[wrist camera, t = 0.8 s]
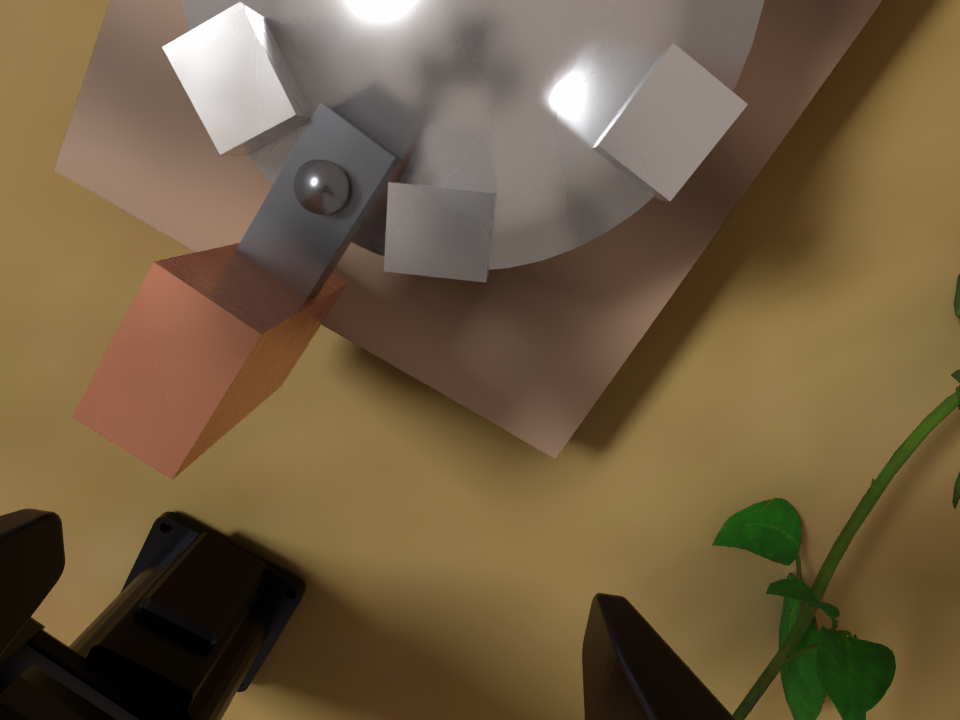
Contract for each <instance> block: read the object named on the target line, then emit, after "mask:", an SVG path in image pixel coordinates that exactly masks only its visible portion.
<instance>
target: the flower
mask: <svg viewBox="0 0 960 720" xmlns="http://www.w3.org/2000/svg"><path fill="white" fill-rule="evenodd" d="M954 308H955V314H956V315H957V316H958V317H959V318H960V274H959V276H958V281H957V287H956V294H955V300H954ZM951 376H953V377H954V378H955V379H956V380H957V381H958V382H959V383H960V370H957V371H955V372H954V373H953V374H951ZM957 406H958V407H959V410H960V385H959V386H958V387H957V388H956V392H955V393H954V394H952V395H951V396H949V397H947V398H946V399H945V400H944V401H943V402H942V403H941V404H940V405H939V406H938V407H937V408H935V409H934V410H933V411H932V412H931V413H930V414H929V415H928V416H927V417H926V418H925V419H924V420H923V421H922V422H921V423H920V424H919V426H918V427H917V428H916V429H915V430H914V431H913V432H912V434H911V435H910V436H909V437H908V438H907V439H906V440H905V441H904V443H903V444H902V445H901V446H900V447H899V448H898V449H897V451H896V452H895V453H894V454H893V456H892V457H891V459H890V460H889V462H888V463H887V464H886V466H885V467H884V469H883V470H882V471H881V473H880V474H879V476H878V477H877V478H876V480H875V481H874V479H873V480H872V484H871V487H870V488H869V490H868V491H867V493H866V494H865V495H864V497H863V498H862V500H861V502H860V503H859V505H858V506H857V508H856V510H855V511H854V513H853V514H852V516H851V517H850V519H849V521H848V522H847V524H846V525H845V527H844V529H843V530H842V532H841V533H840V535H839V537H838V538H837V540H836V541H835V543H834V545H833V547H832V549H831V550H830V552H829V554H828V556H827V558H826V560H825V562H824V564H823V566H822V567H821V569H820V571H819V573H818V576H817V578H816V580H815V582H814V585H813V587H812V589H810V587H808V586H807V585H806V584H805V583H804V582H803V581H801V563H800V557H799V554H798V553H799V547H800V542H801V536H802V534H801V523H800V519H799V517H798V515H797V513H796V511H795V509H794V508H793V507H792V506H791V505H790V504H789V503H788V502H787V501H785V500H784V499H782V498H774V499H771V500H767V501H763V502H760V503H756V504H753V505H751V506H749V507H748V508H746V509H744V510H742V511H740V512H738V513H736V514H734V515H733V516H731V517H730V518H729V519H728V520H727V521H726V522H725V524H724V525H723V527H722V529H721V530H720V532H719V533H718V535H717V537H716V539H715V541H714V543H713V544H712V545H717V546H727V547H737V548H740V549H745V550H748V551H750V552H753V553H755V554H757V555H759V556H762V557H764V558H767V559H769V560H771V561H774V562H777V563H781V564H783V565H790V564H791V563H792V562H793V561H794V560H795V559H796V565H797V579H795V576H794V574H792V573H789V575H788V576H787V579H784V580H779V581H776V582H773V583H771V584H770V585H769V587H768V590H767V592H766V594H774V595H781V596H784V603H783V610H782V616H781V623H780V630H779V651H778V652H777V654H776V655H775V657H774V658H773V659H772V661H771V662H770V664H769V665H768V666H767V668H766V669H765V670H764V672H763V673H762V675H761V676H760V677H759V679H758V680H757V682H756V683H755V684H754V686H753V687H752V689H751V690H750V691H749V693H748V694H747V696H746V697H745V698H744V700H743V701H742V703H741V704H740V705H739V707H738V708H737V710H736V711H735V712H734V714H733V715H732V716H733V717H734V718H735V719H736V720H745V718H746V717H747V715H748V714H749V713H750V711H751V710H752V709H753V707H754V706H755V704H756V703H757V702H758V700H759V699H760V698H761V696H762V695H763V693H764V692H765V691H766V689H767V688H768V686H769V685H770V684H771V682H772V681H773V680H774V678H775V677H776V675H777V674H778V673H779V671H780V672H781V680H782V684H783V688H784V693H785V697H786V701H787V703H788V705H789V708H790V710H791V712H792V715H793V718H794V720H816V719H817V717H818V715H819V714H820V712H821V708H822V703H824V697H826V693H827V695H828V696H829V697H830V699H831V700H832V702H833V703H834V705H835V706H836V708H837V710H838V712H839V714H840V716H841V717H842V719H843V720H866V712H867V711H868V710H870V709H872V708H873V707H874V706H875V705H876V704H877V703H878V702H879V701H880V700H881V698H882V697H883V696H884V694H885V693H886V691H887V689H888V688H889V686H890V685H891V683H892V680H893V678H894V674H895V669H896V663H895V657H894V654H893V651H891V650H890V649H889V648H888V647H886V646H884V645H882V644H878V643H873V642H869V641H865V640H860V639H857V636H856V634H855V635H854V638H853V637H852V635H851V633H850V632H849V631H841V630H837V631H835V630H836V627H837V623H838V621H837V620H836V619H835V618H836V617H839V614H840V613H839V611H838V609H837V608H836V607H835V606H833V605H831V604H828V603H823V602H820V601H821V599H822V597H823V595H824V593H825V590H826V588H827V586H828V584H829V582H830V579H831V577H832V575H833V573H834V571H835V569H836V567H837V565H838V564H839V562H840V560H841V558H842V556H843V555H844V553H845V551H846V549H847V547H848V546H849V544H850V542H851V540H852V538H853V537H854V535H855V533H856V532H857V530H858V529H859V527H860V526H861V524H862V523H863V521H864V520H865V518H866V517H867V515H868V514H869V512H870V511H871V509H872V508H873V506H874V505H875V503H876V502H877V500H878V499H879V497H880V496H881V494H882V493H883V491H884V490H885V488H886V487H887V485H888V484H889V482H890V481H891V479H892V478H893V476H894V475H895V474H896V473H897V472H898V470H899V469H900V468H901V467H902V465H903V464H904V463H905V462H906V461H907V459H908V458H909V457H910V456H911V454H912V453H913V452H914V451H915V450H916V448H917V447H918V446H919V445H920V444H921V442H922V441H923V440H924V439H925V437H926V436H927V435H928V434H929V433H930V432H931V431H932V430H933V429H934V428H935V427H936V426H937V425H938V424H939V423H940V422H941V421H942V420H943V419H945V418H946V417H947V416H948V415H949V414H950V413H951V412H952V411H953V410H954V409H955V408H956V407H957ZM959 498H960V473H959V475H958V477H957V479H956V482H955V487H954V494H953V501H952V502H953V506H954V509H955V508H956V506H957V503H958V501H959ZM818 607H819V608H820V609H822V610H823V611H824V612H825V613H826V614H827V615H828V616H829V617H830V618H831V619H832V620H833V623H832V628H831V629H830V630H829V629H827V628H826V627H824V626H822V628H821V632H820V631H819V628H818V625H817V622H816V618H815V612H816V610H817V608H818ZM846 635H848V636H849V637H846Z"/></svg>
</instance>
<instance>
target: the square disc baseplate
mask: <svg viewBox="0 0 960 720" xmlns="http://www.w3.org/2000/svg"><path fill="white" fill-rule="evenodd" d="M881 2H882V0H764V4H763V7H762V11H761V15H760V18H759V22H758V26H757V29H756V33H755V37H754V40H753V44H752V47H751V49H750V52H749V54H748V57H747V59H746V62H745V64H744V67H743V69H742V72H741V74H740V77H739V79H738V82H737V84H736V86H735V88H734V90H733V92H734V93H735V94H736V95H737V96H738V97H740V98H741V99H742V100H743V101H745V102H746V103H747V104H748V105H747V106H746V107H745V109H744V110H743V111H742V112H741V114H740V115H739V116H738V117H737V119H736V120H735V121H734V122H733V124H732V125H731V126H730V127H729V129H728V130H727V131H726V133H725V134H724V135H723V136H722V138H721V139H720V140H719V141H718V143H717V144H716V145H715V146H714V148H713V149H712V150H711V151H710V153H709V154H708V155H707V156H706V158H705V159H704V160H703V161H702V163H701V164H700V165H699V166H698V168H697V169H696V170H695V171H694V173H693V174H692V175H691V176H690V178H689V179H688V180H687V181H686V183H685V184H684V185H683V186H682V188H681V189H680V190H679V191H678V193H677V194H676V195H675V196H674V198H673V199H672V200H671V201H670V202H669V201H662V200H657V199H656V198H655V197H653V198H652V199H651V200H650V201H648V202H647V203H646V204H645V205H644V206H643V207H642V208H641V209H639V210H638V211H637V212H636V213H634V214H633V215H631V216H630V217H628V218H627V219H625V220H624V221H622V222H621V223H620V224H618V225H617V226H615V227H614V228H612V229H611V230H609V231H608V232H606V233H604V234H602V235H600V236H599V237H597V238H595V239H593V240H591V241H589V242H587V243H585V244H583V245H581V246H579V247H577V248H575V249H573V250H570V251H567V252H564V253H562V254H559V255H556V256H553V257H551V258H548V259H545V260H542V261H538V262H534V263H529V264H525V265H520V266H516V267H511V268H504V269H492V270H489V275H488V278H487V281H486V283H485V282H476V281H467V280H458V279H449V278H439V277H430V276H421V275H412V274H403V273H394V272H385V271H384V257H385V256H382V255H379V254H376V253H373V252H371V251H369V250H367V249H365V248H363V247H360V246H358V245H356V244H354V243H352V242H351V243H350V245H349V246H348V248H347V249H346V251H345V253H344V254H343V256H342V257H341V259H340V261H339V262H338V264H337V265H336V267H335V268H334V270H333V273H334V274H336V275H337V276H338V277H340V278H341V279H343V280H344V281H345V282H347V283H348V284H347V285H346V287H345V288H344V290H343V292H342V293H341V295H340V296H339V298H338V299H337V301H336V302H335V304H334V305H333V307H332V309H331V310H330V312H329V313H328V315H327V316H326V318H325V319H324V321H323V322H322V325H323V326H325V327H327V328H329V329H330V330H332V331H334V332H336V333H337V334H339V335H341V336H343V337H344V338H346V339H348V340H349V341H351V342H353V343H355V344H356V345H358V346H360V347H362V348H363V349H365V350H367V351H369V352H370V353H372V354H374V355H376V356H377V357H379V358H381V359H382V360H384V361H386V362H388V363H389V364H391V365H393V366H395V367H396V368H398V369H400V370H402V371H403V372H405V373H407V374H408V375H410V376H412V377H414V378H415V379H417V380H419V381H421V382H422V383H424V384H426V385H428V386H429V387H431V388H433V389H435V390H436V391H438V392H440V393H441V394H443V395H445V396H447V397H448V398H450V399H452V400H454V401H455V402H457V403H459V404H461V405H462V406H464V407H466V408H467V409H469V410H471V411H473V412H474V413H476V414H478V415H480V416H481V417H483V418H485V419H487V420H488V421H490V422H492V423H494V424H495V425H497V426H499V427H500V428H502V429H504V430H506V431H507V432H509V433H511V434H513V435H514V436H516V437H518V438H520V439H521V440H523V441H525V442H526V443H528V444H530V445H532V446H533V447H535V448H537V449H539V450H540V451H542V452H544V453H546V454H547V455H549V456H551V457H552V458H554V459H556V457H557V456H558V455H559V453H560V452H561V450H562V449H563V448H564V446H565V445H566V443H567V442H568V441H569V439H570V438H571V436H572V435H573V434H574V432H575V431H576V429H577V428H578V427H579V425H580V424H581V422H582V421H583V420H584V418H585V417H586V415H587V414H588V413H589V411H590V410H591V408H592V407H593V406H594V404H595V403H596V401H597V400H598V399H599V397H600V396H601V394H602V393H603V391H604V390H605V389H606V387H607V386H608V384H609V383H610V382H611V380H612V379H613V377H614V376H615V375H616V373H617V372H618V370H619V369H620V368H621V366H622V365H623V363H624V362H625V361H626V359H627V358H628V356H629V355H630V354H631V352H632V351H633V349H634V348H635V347H636V345H637V344H638V342H639V341H640V340H641V338H642V337H643V335H644V334H645V333H646V331H647V330H648V328H649V327H650V326H651V324H652V323H653V321H654V320H655V319H656V317H657V316H658V314H659V313H660V312H661V310H662V309H663V307H664V306H665V305H666V303H667V302H668V300H669V299H670V298H671V296H672V295H673V293H674V292H675V291H676V289H677V288H678V286H679V285H680V284H681V282H682V281H683V279H684V278H685V277H686V275H687V274H688V272H689V271H690V270H691V268H692V267H693V265H694V264H695V263H696V261H697V260H698V258H699V257H700V256H701V254H702V253H703V251H704V250H705V249H706V247H707V246H708V244H709V243H710V242H711V240H712V239H713V237H714V236H715V235H716V233H717V232H718V230H719V229H720V227H721V226H722V225H723V223H724V222H725V220H726V219H727V218H728V216H729V215H730V213H731V212H732V211H733V209H734V208H735V206H736V205H737V204H738V202H739V201H740V199H741V198H742V197H743V195H744V194H745V192H746V191H747V190H748V188H749V187H750V185H751V184H752V183H753V181H754V180H755V178H756V177H757V176H758V174H759V173H760V171H761V170H762V169H763V167H764V166H765V164H766V163H767V162H768V160H769V159H770V157H771V156H772V155H773V153H774V152H775V150H776V149H777V148H778V146H779V145H780V143H781V142H782V141H783V139H784V138H785V136H786V135H787V134H788V132H789V131H790V129H791V128H792V127H793V125H794V124H795V122H796V121H797V120H798V118H799V117H800V115H801V114H802V113H803V111H804V110H805V108H806V107H807V106H808V104H809V103H810V101H811V100H812V99H813V97H814V96H815V94H816V93H817V92H818V90H819V89H820V87H821V86H822V85H823V83H824V82H825V80H826V79H827V78H828V76H829V75H830V73H831V72H832V71H833V69H834V68H835V66H836V65H837V63H838V62H839V61H840V59H841V58H842V56H843V55H844V54H845V52H846V51H847V49H848V48H849V47H850V45H851V44H852V42H853V41H854V40H855V38H856V37H857V35H858V34H859V33H860V31H861V30H862V28H863V27H864V26H865V24H866V23H867V21H868V20H869V19H870V17H871V16H872V14H873V13H874V12H875V10H876V9H877V7H878V6H879V5H880V3H881ZM187 32H188V27H187V23H186V18H185V13H184V9H183V4H182V0H110V3H109V6H108V9H107V12H106V15H105V18H104V21H103V24H102V27H101V30H100V33H99V36H98V39H97V42H96V45H95V48H94V51H93V54H92V57H91V60H90V63H89V66H88V69H87V72H86V75H85V78H84V81H83V84H82V87H81V90H80V93H79V96H78V99H77V102H76V105H75V108H74V111H73V114H72V117H71V120H70V123H69V126H68V129H67V132H66V135H65V138H64V141H63V144H62V147H61V150H60V153H59V156H58V159H57V162H56V165H55V168H54V170H55V171H56V172H58V173H60V174H61V175H63V176H65V177H67V178H68V179H70V180H72V181H74V182H75V183H77V184H79V185H81V186H82V187H84V188H86V189H88V190H89V191H91V192H93V193H94V194H96V195H98V196H100V197H101V198H103V199H105V200H107V201H108V202H110V203H112V204H114V205H115V206H117V207H119V208H120V209H122V210H124V211H126V212H127V213H129V214H131V215H133V216H134V217H136V218H138V219H140V220H141V221H143V222H145V223H147V224H148V225H150V226H152V227H153V228H155V229H157V230H159V231H160V232H162V233H164V234H166V235H167V236H169V237H171V238H173V239H174V240H176V241H178V242H179V243H181V244H183V245H185V246H186V247H188V248H190V249H192V250H193V251H195V252H200V251H205V250H209V249H214V248H218V247H223V246H227V245H232V244H236V243H240V242H241V240H242V239H243V237H244V235H245V233H246V232H247V230H248V228H249V226H250V225H251V223H252V221H253V219H254V218H255V216H256V214H257V212H258V211H259V209H260V207H261V205H262V204H263V202H264V200H265V198H266V197H267V195H268V193H269V191H270V189H271V188H272V186H273V183H272V182H271V181H270V180H269V179H268V178H267V177H266V176H265V175H264V174H263V173H262V172H261V170H260V169H259V168H258V167H257V165H256V164H255V163H254V161H253V160H252V159H251V157H250V156H249V155H247V156H245V157H239V156H227V155H220V154H219V152H218V150H217V148H216V146H215V145H214V143H213V141H212V139H211V137H210V135H209V133H208V132H207V130H206V128H205V126H204V124H203V122H202V120H201V119H200V117H199V115H198V113H197V111H196V109H195V107H194V106H193V104H192V102H191V100H190V98H189V96H188V94H187V93H186V91H185V89H184V87H183V85H182V83H181V81H180V80H179V78H178V76H177V74H176V72H175V70H174V68H173V67H172V65H171V63H170V61H169V59H168V57H167V55H166V54H165V52H164V50H163V48H162V47H163V46H165V45H166V44H168V43H170V42H171V41H173V40H175V39H177V38H178V37H180V36H182V35H184V34H185V33H187Z"/></svg>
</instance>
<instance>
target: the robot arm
mask: <svg viewBox="0 0 960 720" xmlns="http://www.w3.org/2000/svg"><path fill="white" fill-rule="evenodd" d="M166 523H169V524H170V525H171V527H172V528H170V527H169V526H167V524H166ZM64 566H65V552H64V542H63V531H62V522H61V519H60V517H59V515H58V514H56V513H54V512H50V511H43V510H37V509H23V510H19V511H16V512H12V513H9V514H5V515H2V516H0V720H221V719H222V717H223V715H224V714H225V712H226V710H227V708H228V706H229V705H230V703H231V701H232V699H233V697H234V696H235V694H236V692H243V691H245V690H246V689H247V688H248V686H249V685H250V683H251V682H252V680H253V678H254V677H255V675H256V673H257V672H258V670H259V668H260V667H261V665H262V663H263V662H264V660H265V658H266V657H267V655H268V653H269V652H270V650H271V649H272V647H273V645H274V644H275V642H276V640H277V639H278V637H279V635H280V634H281V632H282V630H283V629H284V627H285V625H286V624H287V622H288V620H289V619H290V617H291V615H292V614H293V612H294V611H295V609H296V607H297V606H298V604H299V602H300V601H301V599H302V597H303V595H304V593H305V591H306V585H305V583H304V582H303V581H302V580H301V579H300V578H298V577H296V576H294V575H292V574H290V573H289V572H287V571H285V570H283V569H281V568H279V567H277V566H275V565H273V564H271V563H270V562H268V561H266V560H264V559H262V558H260V557H258V556H256V555H254V554H253V553H251V552H249V551H247V550H245V549H243V548H241V547H239V546H237V545H235V544H234V543H232V542H230V541H228V540H226V539H224V538H222V537H220V536H218V535H216V534H215V533H213V532H211V531H209V530H207V529H205V528H203V527H201V526H199V525H198V524H196V523H194V522H192V521H190V520H188V519H186V518H184V517H182V516H180V515H179V514H177V513H174V512H165V513H163V514H162V515H161V516H160V517H159V518H158V519H157V520H156V521H155V522H154V524H153V526H152V528H151V530H150V532H149V535H148V537H147V539H146V541H145V543H144V545H143V547H142V549H141V551H140V553H139V556H138V558H137V560H136V562H135V564H134V566H133V568H132V570H131V572H130V574H129V576H128V579H127V581H126V583H125V585H124V587H123V589H122V591H121V593H120V594H119V596H118V597H117V598H116V599H115V600H114V601H113V602H112V603H111V604H110V605H109V606H108V607H107V608H106V609H105V610H104V611H103V612H102V613H101V614H100V615H99V616H98V617H97V618H96V619H95V620H94V621H93V622H92V623H91V624H90V625H89V626H88V628H87V629H86V630H85V631H84V632H83V633H82V634H81V635H80V636H79V637H78V638H77V639H76V640H75V641H74V642H73V643H72V644H71V645H70V646H69V647H68V646H67V645H65V644H64V643H62V642H61V641H59V640H58V639H56V638H55V637H53V636H52V635H50V634H49V633H47V632H46V631H44V630H43V629H44V628H45V626H43V625H42V624H40V623H39V622H37V621H36V620H34V619H33V618H31V616H32V614H33V613H34V612H35V610H36V609H37V608H38V606H39V605H40V604H41V603H42V601H43V600H44V599H45V597H46V596H47V595H48V593H49V592H50V591H51V589H52V588H53V587H54V585H55V584H56V583H57V581H58V580H59V578H60V576H61V574H62V572H63V569H64ZM289 588H292V589H294V590H295V591H296V592H292V591H291V590H289ZM582 662H583V686H584V709H585V720H736V719H735V718H734V717H733V716H732V715H731V714H730V713H729V711H728V710H727V709H726V708H725V707H724V706H723V705H722V704H721V703H720V701H719V700H718V699H717V698H716V697H715V696H714V695H713V694H712V693H711V692H710V690H709V689H708V688H707V687H706V686H705V685H704V684H703V683H702V682H701V681H700V679H699V678H698V677H697V676H696V675H695V674H694V673H693V672H692V671H691V669H690V668H689V667H688V666H687V665H686V664H685V663H684V662H683V661H682V660H681V658H680V657H679V656H678V655H677V654H676V653H675V652H674V651H673V650H672V649H671V647H670V646H669V645H668V644H667V643H666V642H665V641H664V640H663V639H662V637H661V636H660V635H659V634H658V633H657V632H656V631H655V630H654V629H653V628H652V626H651V625H650V624H649V623H648V622H647V621H646V620H645V619H644V618H643V616H642V615H641V614H640V613H639V612H638V611H637V610H636V609H635V608H634V607H633V605H632V604H631V603H630V602H629V601H628V600H627V599H626V598H624V597H622V596H617V595H610V594H603V593H598V594H596V595H595V596H594V598H593V600H592V604H591V609H590V613H589V618H588V622H587V627H586V631H585V636H584V641H583V650H582Z"/></svg>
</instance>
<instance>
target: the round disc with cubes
mask: <svg viewBox="0 0 960 720" xmlns="http://www.w3.org/2000/svg"><path fill="white" fill-rule="evenodd" d="M182 4H183V9H184V13H185V18H186V23H187V27H188V32H187V33H185V34H184V35H182V36H180V37H178V38H177V39H175V40H173V41H171V42H170V43H168V44H166V45H165V46H163V47H162V48H163V50H164V52H165V54H166V55H167V57H168V59H169V61H170V63H171V65H172V67H173V68H174V70H175V72H176V74H177V76H178V78H179V80H180V81H181V83H182V85H183V87H184V89H185V91H186V93H187V94H188V96H189V98H190V100H191V102H192V104H193V106H194V107H195V109H196V111H197V113H198V115H199V117H200V119H201V120H202V122H203V124H204V126H205V128H206V130H207V132H208V133H209V135H210V137H211V139H212V141H213V143H214V145H215V146H216V148H217V150H218V152H219V154H220V155H227V156H239V157H245V156H247V155H249V156H250V157H251V159H252V160H253V161H254V163H255V164H256V165H257V167H258V168H259V169H260V170H261V172H262V173H263V174H264V175H265V176H266V177H267V178H268V179H269V180H270V181H271V182H272V183H273V186H272V188H271V189H270V191H269V193H268V195H267V197H266V198H265V200H264V202H263V204H262V205H261V207H260V209H259V211H258V212H257V214H256V216H255V218H254V219H253V221H252V223H251V225H250V226H249V228H248V230H247V232H246V233H245V235H244V237H243V239H242V240H241V242H240V243H236V244H232V245H227V246H223V247H218V248H214V249H209V250H205V251H200V252H196V253H191V254H187V255H182V256H178V257H173V258H169V259H164V260H160V261H155V262H153V264H152V266H151V268H150V270H149V272H148V274H147V275H146V277H145V279H144V281H143V283H142V285H141V287H140V289H139V291H138V293H137V294H136V296H135V298H134V300H133V302H132V304H131V306H130V308H129V310H128V312H127V313H126V315H125V317H124V319H123V321H122V323H121V325H120V327H119V329H118V331H117V332H116V334H115V336H114V338H113V340H112V342H111V344H110V346H109V348H108V350H107V351H106V353H105V355H104V357H103V359H102V361H101V363H100V365H99V367H98V369H97V370H96V372H95V374H94V376H93V378H92V380H91V382H90V384H89V386H88V388H87V389H86V391H85V393H84V395H83V397H82V399H81V401H80V403H79V405H78V406H77V408H76V410H75V412H74V414H73V416H72V417H73V418H75V419H76V420H78V421H80V422H81V423H83V424H84V425H86V426H87V427H89V428H91V429H92V430H94V431H95V432H97V433H99V434H100V435H102V436H103V437H105V438H107V439H108V440H110V441H111V442H113V443H115V444H116V445H118V446H119V447H121V448H123V449H124V450H126V451H127V452H129V453H131V454H132V455H134V456H135V457H137V458H139V459H140V460H142V461H143V462H145V463H146V464H148V465H150V466H151V467H153V468H154V469H156V470H158V471H159V472H161V473H162V474H164V475H166V476H167V477H169V478H170V479H174V478H175V477H176V476H177V475H178V474H179V473H180V472H182V471H183V470H184V469H185V468H186V467H187V466H189V465H190V464H191V463H192V462H193V461H194V460H196V459H197V458H198V457H199V456H200V455H201V454H203V453H204V452H205V451H206V450H207V449H208V448H210V447H211V446H212V445H213V444H214V443H215V442H217V441H218V440H219V439H220V438H221V437H222V436H224V435H225V434H226V433H227V432H228V431H229V430H231V429H232V428H233V427H234V426H235V425H236V424H238V423H239V422H240V421H241V420H242V419H243V418H245V417H246V416H247V415H248V414H249V413H250V412H252V411H253V410H254V409H255V408H256V407H257V406H259V405H260V404H261V403H262V402H263V401H264V400H266V399H267V398H268V397H269V396H270V395H271V394H273V393H274V392H275V391H276V390H277V389H278V388H280V387H281V386H282V384H283V383H284V381H285V380H286V378H287V376H288V375H289V373H290V372H291V370H292V369H293V367H294V366H295V364H296V363H297V361H298V359H299V358H300V356H301V355H302V353H303V352H304V350H305V349H306V347H307V346H308V344H309V342H310V341H311V339H312V338H313V336H314V335H315V333H316V332H317V330H318V329H319V327H320V326H321V324H322V322H323V321H324V319H325V318H326V316H327V315H328V313H329V312H330V310H331V309H332V307H333V305H334V304H335V302H336V301H337V299H338V298H339V296H340V295H341V293H342V292H343V290H344V288H345V287H346V285H347V284H348V283H347V282H345V281H344V280H343V279H341V278H340V277H338V276H337V275H336V274H334V273H333V270H334V268H335V267H336V265H337V264H338V262H339V261H340V259H341V257H342V256H343V254H344V253H345V251H346V249H347V248H348V246H349V245H350V243H351V242H352V243H354V244H356V245H358V246H360V247H363V248H365V249H367V250H369V251H371V252H373V253H376V254H379V255H382V256H385V257H384V271H385V272H394V273H403V274H412V275H421V276H430V277H439V278H449V279H458V280H467V281H476V282H485V283H486V281H487V278H488V275H489V270H492V269H504V268H511V267H516V266H520V265H525V264H529V263H534V262H538V261H542V260H545V259H548V258H551V257H553V256H556V255H559V254H562V253H564V252H567V251H570V250H573V249H575V248H577V247H579V246H581V245H583V244H585V243H587V242H589V241H591V240H593V239H595V238H597V237H599V236H600V235H602V234H604V233H606V232H608V231H609V230H611V229H612V228H614V227H615V226H617V225H618V224H620V223H621V222H622V221H624V220H625V219H627V218H628V217H630V216H631V215H633V214H634V213H636V212H637V211H638V210H639V209H641V208H642V207H643V206H644V205H645V204H646V203H647V202H648V201H650V200H651V199H652V198H653V197H655V198H656V199H657V200H662V201H669V202H670V201H671V200H672V199H673V198H674V196H675V195H676V194H677V193H678V191H679V190H680V189H681V188H682V186H683V185H684V184H685V183H686V181H687V180H688V179H689V178H690V176H691V175H692V174H693V173H694V171H695V170H696V169H697V168H698V166H699V165H700V164H701V163H702V161H703V160H704V159H705V158H706V156H707V155H708V154H709V153H710V151H711V150H712V149H713V148H714V146H715V145H716V144H717V143H718V141H719V140H720V139H721V138H722V136H723V135H724V134H725V133H726V131H727V130H728V129H729V127H730V126H731V125H732V124H733V122H734V121H735V120H736V119H737V117H738V116H739V115H740V114H741V112H742V111H743V110H744V109H745V107H746V106H747V105H748V104H747V103H746V102H745V101H743V100H742V99H741V98H740V97H738V96H737V95H736V94H735V93H734V92H733V90H734V88H735V86H736V84H737V82H738V79H739V77H740V74H741V72H742V69H743V67H744V64H745V62H746V59H747V57H748V54H749V52H750V49H751V47H752V44H753V40H754V37H755V33H756V29H757V26H758V22H759V18H760V15H761V11H762V7H763V4H764V0H182Z"/></svg>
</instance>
